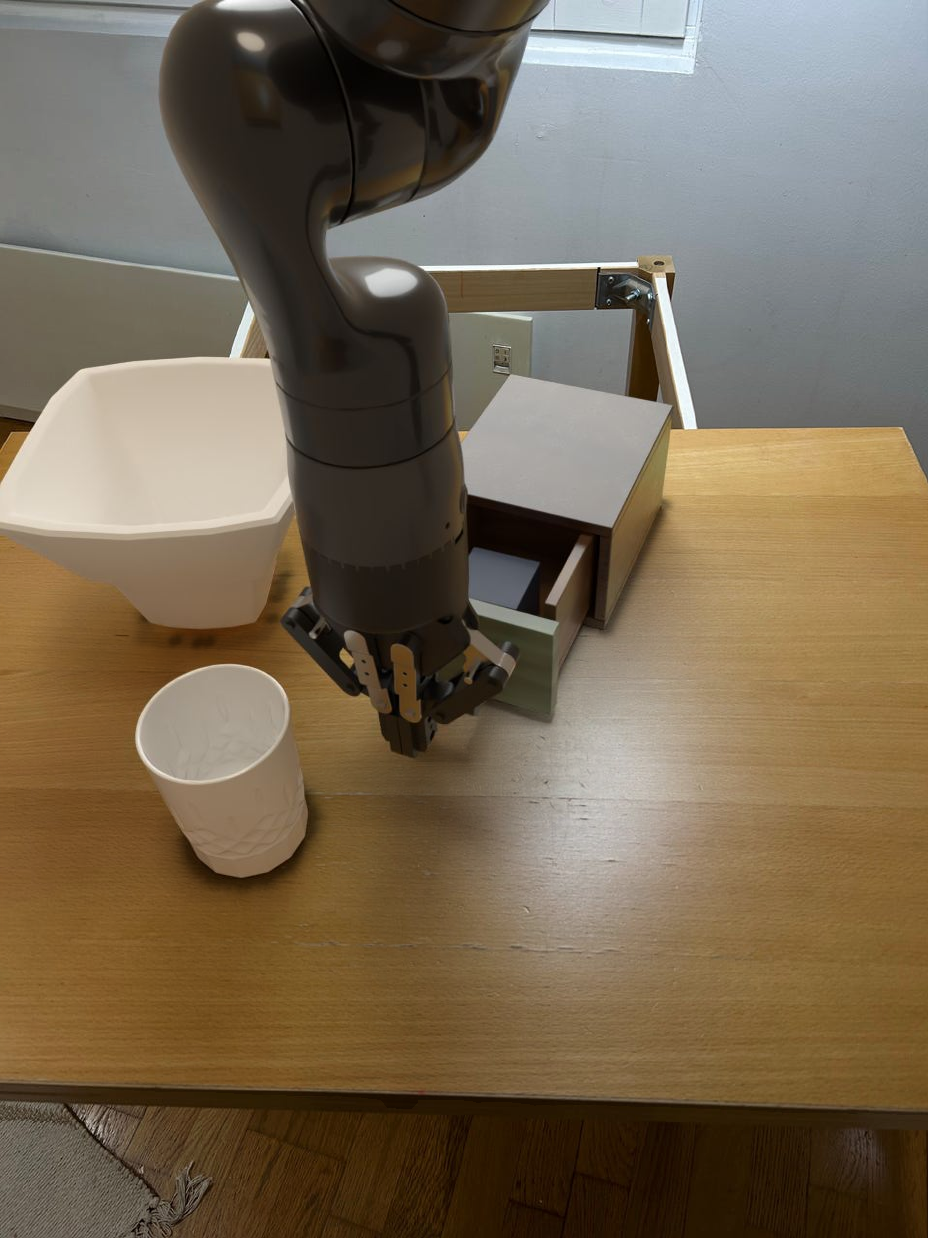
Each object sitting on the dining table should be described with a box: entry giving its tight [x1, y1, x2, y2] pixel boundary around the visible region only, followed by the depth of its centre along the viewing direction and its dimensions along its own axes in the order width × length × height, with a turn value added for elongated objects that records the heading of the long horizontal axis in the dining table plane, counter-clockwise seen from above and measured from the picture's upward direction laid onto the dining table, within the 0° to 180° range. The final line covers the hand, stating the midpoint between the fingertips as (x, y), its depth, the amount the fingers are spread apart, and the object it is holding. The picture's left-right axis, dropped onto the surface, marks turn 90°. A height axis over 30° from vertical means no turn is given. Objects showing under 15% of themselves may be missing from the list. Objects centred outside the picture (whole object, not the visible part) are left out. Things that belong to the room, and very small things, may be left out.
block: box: [468, 547, 540, 616], centre depth 64 cm, size 5×5×5 cm
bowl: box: [0, 356, 296, 630], centre depth 67 cm, size 19×19×14 cm
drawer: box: [439, 503, 600, 717], centre depth 63 cm, size 18×11×7 cm, turn 157°
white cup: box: [134, 663, 309, 879], centre depth 54 cm, size 8×8×10 cm
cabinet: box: [461, 373, 675, 631], centre depth 71 cm, size 15×13×9 cm
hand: (411, 744), depth 56 cm, fingers closed
